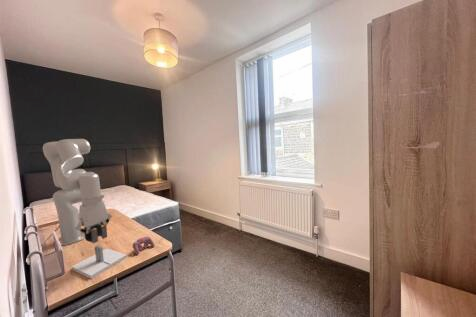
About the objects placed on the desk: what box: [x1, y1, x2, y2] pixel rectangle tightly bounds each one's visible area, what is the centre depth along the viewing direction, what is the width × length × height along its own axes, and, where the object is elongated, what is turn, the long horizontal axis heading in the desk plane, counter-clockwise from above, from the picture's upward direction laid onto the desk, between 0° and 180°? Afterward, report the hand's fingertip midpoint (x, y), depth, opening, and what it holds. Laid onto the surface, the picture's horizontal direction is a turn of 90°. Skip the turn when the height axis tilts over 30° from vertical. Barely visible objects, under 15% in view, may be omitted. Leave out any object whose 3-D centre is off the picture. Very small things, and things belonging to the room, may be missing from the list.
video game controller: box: [132, 236, 155, 255], centre depth 106 cm, size 10×5×7 cm, turn 141°
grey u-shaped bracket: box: [85, 223, 108, 244], centre depth 93 cm, size 6×6×6 cm
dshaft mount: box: [71, 244, 127, 279], centre depth 95 cm, size 16×16×8 cm
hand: (96, 236), depth 94 cm, fingers closed on grey u-shaped bracket, 6 cm apart
